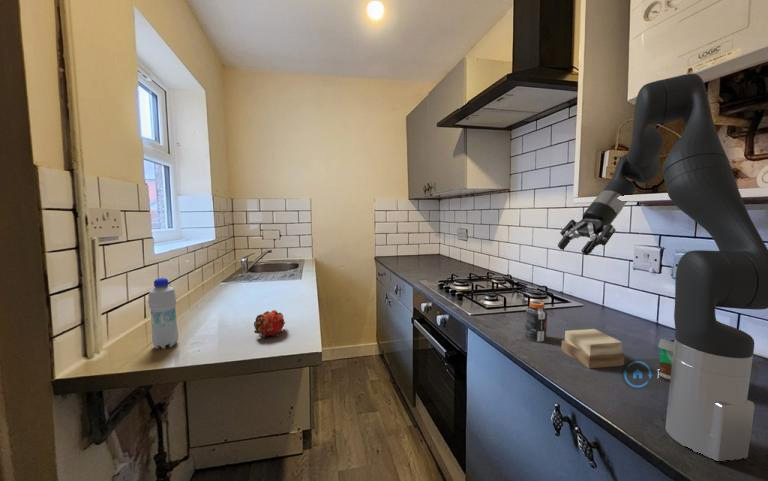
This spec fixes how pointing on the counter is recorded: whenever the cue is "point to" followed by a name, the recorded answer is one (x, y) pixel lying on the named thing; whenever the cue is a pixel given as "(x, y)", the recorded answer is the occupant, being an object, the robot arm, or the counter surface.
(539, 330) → the pill bottle
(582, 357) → the tower base
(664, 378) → the food container
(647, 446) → the counter surface
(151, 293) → the bottle
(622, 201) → the robot arm
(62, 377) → the counter surface
